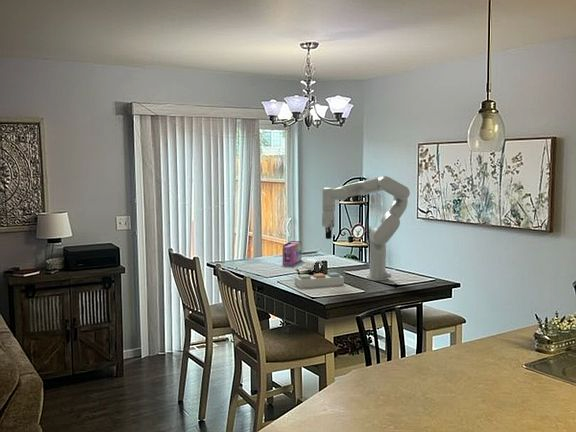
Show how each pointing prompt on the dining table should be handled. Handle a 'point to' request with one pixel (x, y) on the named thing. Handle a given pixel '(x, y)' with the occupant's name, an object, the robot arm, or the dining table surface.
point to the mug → (311, 264)
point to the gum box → (292, 252)
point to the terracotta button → (319, 275)
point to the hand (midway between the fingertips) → (328, 238)
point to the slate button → (334, 274)
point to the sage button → (305, 276)
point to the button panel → (319, 281)
